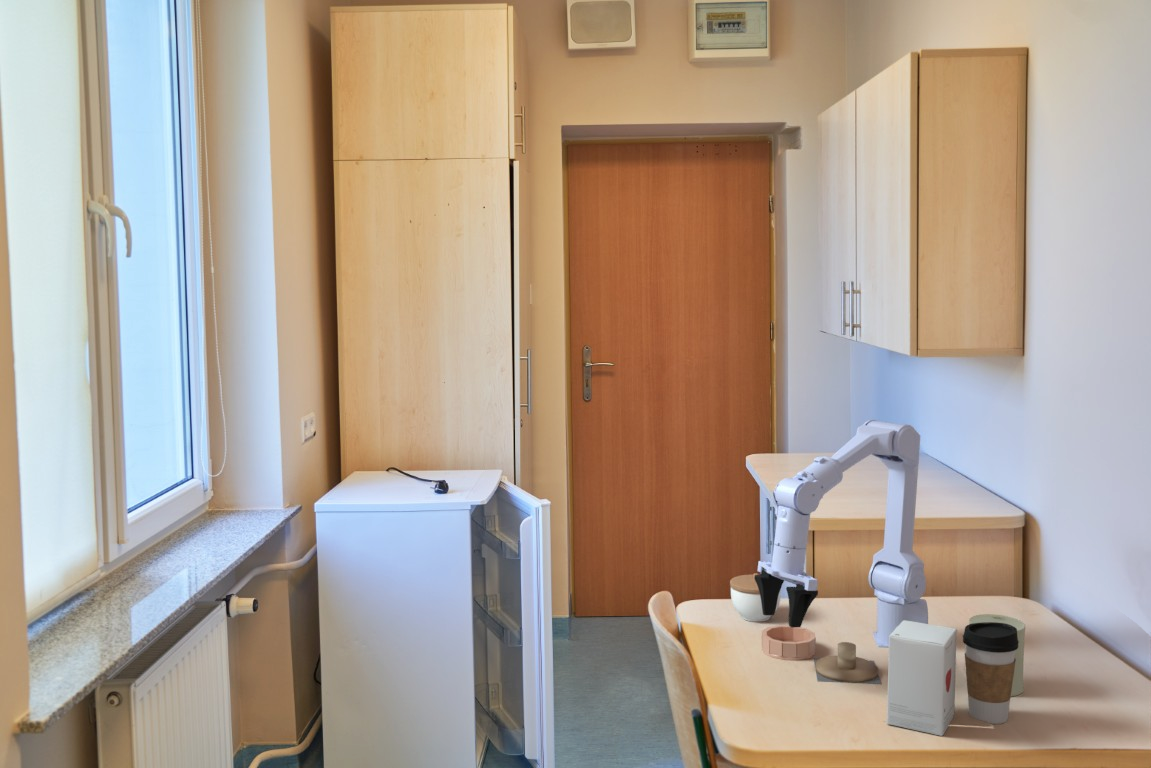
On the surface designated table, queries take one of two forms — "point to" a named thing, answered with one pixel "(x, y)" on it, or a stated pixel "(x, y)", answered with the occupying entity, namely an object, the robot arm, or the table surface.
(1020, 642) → the can
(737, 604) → the lidded jar
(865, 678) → the lid
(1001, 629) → the coffee cup
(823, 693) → the table surface
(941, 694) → the supplement box
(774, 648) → the dish
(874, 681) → the mat
